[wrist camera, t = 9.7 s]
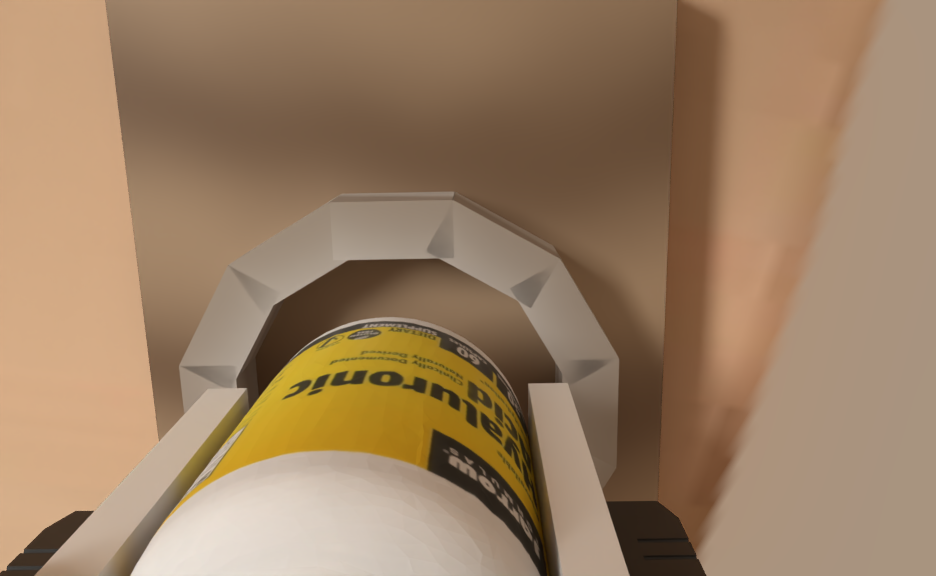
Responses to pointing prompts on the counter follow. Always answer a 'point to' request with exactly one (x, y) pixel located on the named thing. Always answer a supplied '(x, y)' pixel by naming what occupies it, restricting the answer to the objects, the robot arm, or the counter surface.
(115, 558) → the robot arm
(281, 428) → the supplement bottle
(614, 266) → the mount board
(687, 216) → the counter surface
